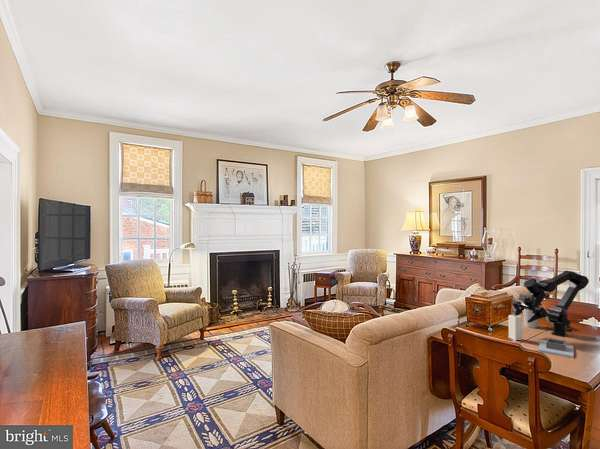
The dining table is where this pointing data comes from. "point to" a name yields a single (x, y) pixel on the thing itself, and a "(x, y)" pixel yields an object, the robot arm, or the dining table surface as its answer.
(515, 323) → the charger
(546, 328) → the dining table surface
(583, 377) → the dining table surface
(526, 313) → the coffee cup
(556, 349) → the outlet
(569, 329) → the handheld radio
